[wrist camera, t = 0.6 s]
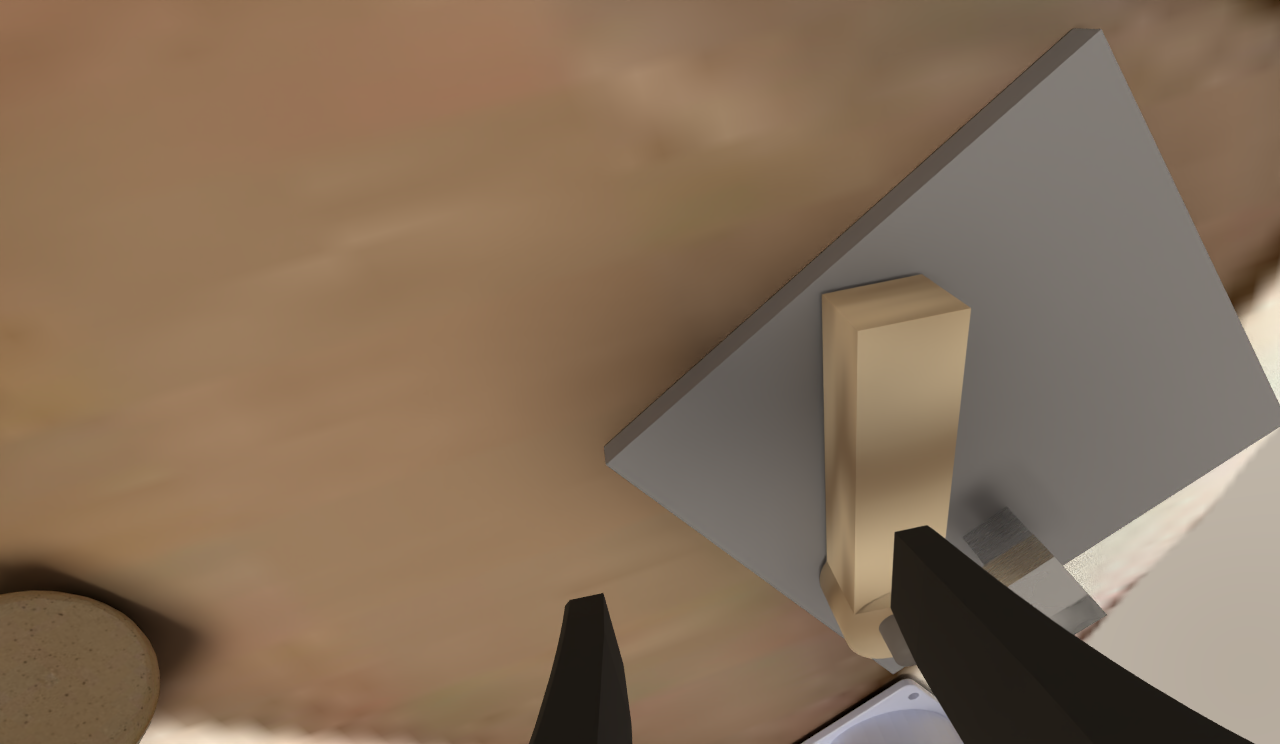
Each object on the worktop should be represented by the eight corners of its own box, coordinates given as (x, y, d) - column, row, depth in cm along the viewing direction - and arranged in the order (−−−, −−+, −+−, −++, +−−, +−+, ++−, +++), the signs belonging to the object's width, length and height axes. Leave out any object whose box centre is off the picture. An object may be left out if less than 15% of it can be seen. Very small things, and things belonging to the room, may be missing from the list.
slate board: (1261, 407, 24) (1287, 421, 24) (883, 654, 29) (892, 674, 28) (1073, 28, 17) (1101, 29, 16) (603, 446, 22) (605, 464, 21)
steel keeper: (1025, 526, 25) (1106, 615, 21) (981, 556, 25) (1053, 646, 22) (974, 471, 23) (1054, 556, 19) (928, 504, 23) (997, 593, 20)
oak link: (907, 593, 25) (959, 676, 22) (820, 611, 25) (859, 697, 22) (931, 272, 18) (1011, 325, 15) (811, 296, 18) (866, 354, 15)
